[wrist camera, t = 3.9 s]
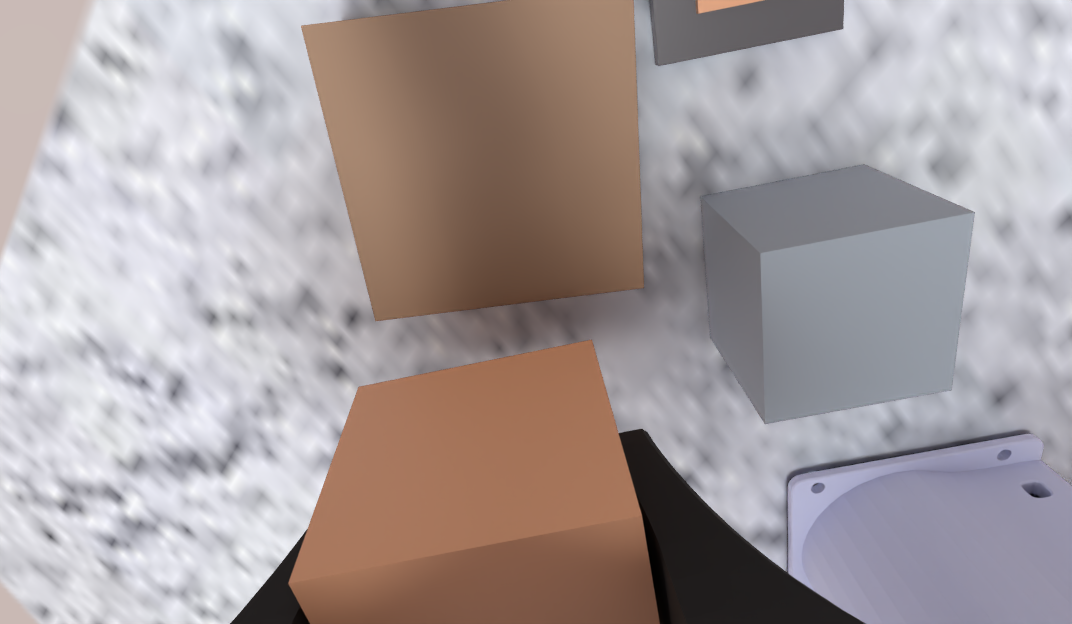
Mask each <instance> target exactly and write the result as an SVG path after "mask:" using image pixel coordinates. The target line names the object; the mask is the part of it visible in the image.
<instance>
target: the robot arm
mask: <svg viewBox="0 0 1072 624" xmlns="http://www.w3.org/2000/svg"><path fill="white" fill-rule="evenodd" d="M619 437H620V440H621V444H622V447H623V451H624V454H625V458H626V461H627V465H628V468H629V472H630V475H631V479H632V482H633V486H634V489H635V493H636V496H637V500H638V503H639V507H640V510H641V514H642V519H643V525H644V531H645V537H646V543H647V549H648V555H649V561H650V567H651V573H652V579H653V585H654V591H655V597H656V604H657V610H658V616H659V622H660V624H1072V486H1071V485H1070V484H1069V483H1068V482H1067V481H1065V480H1064V479H1063V478H1062V477H1061V476H1059V475H1058V474H1057V473H1056V472H1055V471H1053V470H1052V469H1051V468H1050V467H1049V466H1047V465H1046V464H1045V463H1044V462H1043V461H1041V457H1042V452H1043V448H1044V444H1043V442H1042V441H1041V440H1040V439H1039V438H1038V437H1037V436H1035V435H1033V434H1023V435H1018V436H1012V437H1006V438H1001V439H995V440H990V441H984V442H978V443H973V444H967V445H962V446H956V447H950V448H945V449H939V450H934V451H928V452H922V453H917V454H911V455H906V456H900V457H894V458H889V459H883V460H878V461H872V462H866V463H861V464H855V465H850V466H844V467H838V468H833V469H827V470H822V471H816V472H810V473H805V474H800V475H797V476H795V477H793V478H792V479H791V480H790V482H789V484H788V573H787V572H786V571H784V570H783V569H782V568H780V567H779V566H778V565H776V564H775V563H774V562H772V561H771V560H770V559H768V558H767V557H766V556H765V555H763V554H762V553H761V552H760V551H759V550H757V549H756V548H755V547H754V546H752V545H751V544H750V543H749V542H747V541H746V540H745V539H744V538H743V537H742V536H740V535H739V534H738V533H737V532H736V531H735V530H734V529H733V528H731V527H730V526H729V525H728V524H727V523H726V522H725V521H724V520H723V519H722V518H721V517H720V516H719V515H718V514H717V513H715V512H714V511H713V510H712V509H711V508H710V507H709V506H708V505H707V504H706V503H705V502H704V501H703V500H702V499H701V498H700V496H699V495H698V494H697V493H696V492H695V491H694V490H693V489H692V488H691V487H690V486H689V485H688V484H687V483H686V481H685V480H684V479H683V478H682V477H681V476H680V475H679V474H678V472H677V471H676V470H675V469H674V468H673V466H672V465H671V464H670V463H669V462H668V460H667V459H666V458H665V457H664V455H663V454H662V453H661V451H660V450H659V449H658V447H657V446H656V445H655V443H654V442H653V440H652V439H651V437H650V436H649V434H648V432H646V431H644V430H643V429H638V430H633V431H628V432H623V433H619ZM816 483H818V484H817V485H815V486H813V485H814V484H816ZM307 530H308V529H307ZM307 530H306V532H307ZM306 532H305V533H304V534H303V536H302V537H301V538H300V539H299V541H298V542H297V543H296V545H295V546H294V547H293V549H292V550H291V551H290V552H289V554H288V555H287V556H286V558H285V559H284V560H283V561H282V563H281V564H280V565H279V567H278V568H277V569H276V570H275V572H274V573H273V574H272V575H271V576H270V578H269V579H268V580H267V581H266V582H265V584H264V585H263V586H262V587H261V588H260V589H259V591H258V592H257V593H256V594H255V595H254V597H253V598H252V599H251V600H250V601H249V603H248V604H247V605H246V606H245V607H244V608H243V610H242V611H241V612H240V613H239V614H238V615H237V617H236V618H235V619H234V620H233V621H232V622H231V623H230V624H310V623H309V621H308V619H307V617H306V615H305V613H304V612H303V610H302V608H301V606H300V604H299V602H298V600H297V599H296V597H295V595H294V593H293V591H292V589H291V588H290V586H289V584H288V583H289V580H290V577H291V574H292V571H293V569H294V566H295V563H296V560H297V558H298V555H299V552H300V549H301V546H302V544H303V541H304V538H305V535H306Z"/></svg>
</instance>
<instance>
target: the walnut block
mask: <svg viewBox="0 0 1072 624" xmlns="http://www.w3.org/2000/svg"><path fill="white" fill-rule="evenodd" d="M301 28H302V32H303V36H304V40H305V44H306V48H307V52H308V56H309V60H310V64H311V68H312V72H313V76H314V80H315V84H316V88H317V92H318V96H319V100H320V103H321V107H322V111H323V115H324V119H325V123H326V127H327V131H328V135H329V139H330V143H331V147H332V151H333V155H334V159H335V163H336V167H337V171H338V175H339V179H340V183H341V187H342V191H343V195H344V198H345V202H346V206H347V210H348V214H349V218H350V222H351V226H352V230H353V234H354V238H355V242H356V246H357V250H358V254H359V258H360V262H361V266H362V270H363V274H364V278H365V282H366V286H367V290H368V293H369V297H370V301H371V305H372V309H373V313H374V317H375V321H381V320H389V319H397V318H406V317H414V316H422V315H430V314H438V313H446V312H454V311H462V310H470V309H478V308H486V307H494V306H503V305H511V304H519V303H527V302H535V301H543V300H551V299H559V298H567V297H575V296H583V295H591V294H599V293H608V292H616V291H624V290H632V289H640V288H644V274H643V246H642V219H641V192H640V164H639V137H638V109H637V82H636V55H635V27H634V0H506V1H498V2H490V3H482V4H474V5H466V6H458V7H449V8H441V9H433V10H425V11H417V12H409V13H401V14H393V15H384V16H376V17H368V18H360V19H352V20H344V21H336V22H328V23H319V24H311V25H303V26H301Z"/></svg>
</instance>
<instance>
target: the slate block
mask: <svg viewBox="0 0 1072 624" xmlns="http://www.w3.org/2000/svg"><path fill="white" fill-rule="evenodd" d="M700 199H701V213H702V228H703V242H704V256H705V270H706V285H707V299H708V313H709V327H710V338H711V340H712V341H713V343H714V344H715V346H716V347H717V349H718V351H719V352H720V354H721V355H722V357H723V359H724V360H725V362H726V363H727V365H728V366H729V368H730V370H731V371H732V373H733V374H734V376H735V377H736V379H737V381H738V382H739V384H740V385H741V387H742V388H743V390H744V392H745V393H746V395H747V396H748V398H749V399H750V401H751V403H752V404H753V406H754V407H755V409H756V410H757V412H758V414H759V415H760V417H761V418H762V420H763V421H764V423H765V424H768V423H774V422H779V421H785V420H790V419H796V418H801V417H807V416H812V415H818V414H823V413H829V412H834V411H840V410H845V409H851V408H856V407H862V406H867V405H873V404H878V403H884V402H889V401H895V400H900V399H906V398H911V397H917V396H922V395H928V394H933V393H939V392H944V391H950V390H952V382H953V375H954V367H955V359H956V352H957V344H958V336H959V329H960V321H961V313H962V306H963V298H964V290H965V283H966V275H967V267H968V260H969V252H970V244H971V237H972V229H973V222H974V214H975V212H973V211H970V210H968V209H966V208H964V207H961V206H959V205H957V204H954V203H952V202H950V201H947V200H945V199H943V198H941V197H938V196H936V195H934V194H931V193H929V192H927V191H924V190H922V189H920V188H917V187H915V186H913V185H911V184H908V183H906V182H904V181H901V180H899V179H897V178H894V177H892V176H890V175H888V174H885V173H883V172H881V171H878V170H876V169H874V168H871V167H869V166H867V165H864V164H863V165H858V166H853V167H848V168H843V169H838V170H833V171H827V172H822V173H817V174H812V175H807V176H802V177H797V178H792V179H786V180H781V181H776V182H771V183H766V184H761V185H756V186H751V187H746V188H740V189H735V190H730V191H725V192H720V193H715V194H710V195H705V196H700Z"/></svg>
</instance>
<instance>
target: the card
mask: <svg viewBox="0 0 1072 624" xmlns="http://www.w3.org/2000/svg"><path fill="white" fill-rule="evenodd" d="M650 9H651V20H652V30H653V41H654V52H655V63H656V65H658V66H661V65H666V64H671V63H676V62H681V61H686V60H691V59H696V58H701V57H706V56H711V55H716V54H721V53H726V52H731V51H736V50H741V49H746V48H751V47H756V46H761V45H766V44H771V43H776V42H781V41H786V40H791V39H796V38H801V37H805V36H810V35H815V34H820V33H825V32H830V31H835V30H840V29H843V16H844V0H650Z"/></svg>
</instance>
